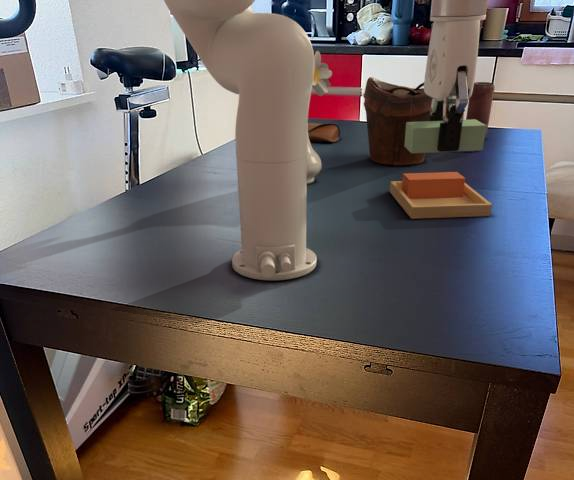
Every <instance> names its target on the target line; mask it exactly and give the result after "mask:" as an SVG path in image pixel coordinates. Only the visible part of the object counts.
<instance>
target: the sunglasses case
mask: <svg viewBox="0 0 574 480" xmlns="http://www.w3.org/2000/svg"><path fill="white" fill-rule="evenodd" d="M308 135H309V140H310V143H335V142H337V141H339V140H340V136H341V129H340V127H339V125H338V124H336V123H331V122H329V123H328V122H327V123H317V122H308Z"/></svg>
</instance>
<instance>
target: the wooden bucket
mask: <svg viewBox="0 0 574 480" xmlns="http://www.w3.org/2000/svg"><path fill="white" fill-rule="evenodd" d="M363 99H364V100H363V101H364V102H363V107H364V110H365V118H366V128H367V130H366V131H367V138H368V141H367V142H368V150H369V158H370V160H371V161H373V162H374V163H378V164H381V165H387V166H393V167H394V166H396V167H400V166H402V167H404V166H405V167H406V166H413V165H419V164H421V163H423V162H424V161H425V156H426V153H411V152H410V151H409V150H408V149H407V148H406V147H405V146H404V144H405V132H406V122H422V121H430V116H434V115H431V114H430V110H431V104H432V98H431V97H430V96H428V95H427V94H426V93H425V92H424V82H422V83H420V84H419V85H418V86H416V87H415V88H414V87H408V86H403V85H399V84H392V83H389V82H386V81H382V80H379V79H378V78H375V77H374V76H373V77H372V76H370V77H368V78H367V80H366V83H365V88H364V92H363Z"/></svg>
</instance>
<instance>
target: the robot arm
mask: <svg viewBox="0 0 574 480" xmlns="http://www.w3.org/2000/svg"><path fill="white" fill-rule="evenodd" d="M163 1H164V3H165V5H166V7H167V9H168V10H169V12H170V13H171V16H172V17H173V18H174V20H175V22H176V23H177V24H178V27H179V28H180V29H181V31H182V33H183V34H184V36H185V38H186V39H187V41H188V42H189V44H190V46H191V47H192V48H193V50H194V52H195V53H196V55H197V57H198V58H199V59H200V61H201V62H202V64H203V66H204V67H205V68H206V71H208V73H209V75H210V76H211V77H212V78H213V79H214V80H215V82H216V83H217V84H218V85H220V87H221V88H223V89H225V90H227V91H228V92H231V93H233V94H235V95H239V96H238V105H237V111H236V117H235V132H234V134H235V136H234V137H235V138H234V141H235V142H234V143H235V156H236V173H237V191H238V207H239V226H240V240H241V241H240V244H241V249H240V250H237V252H235V253H234V254H233V256H232V258H231V262H232V263H231V265H232V269H233V270H234V272H236V273H238V274H239V275H241V276H243V277H246V278H249V279H253V280H259V281H273V282H274V281H275V282H276V281H287V280H292V279H297V278H301V277H303V276H306V275H307V274H309V273H311V272H312V271H314V269H315V268H316V267H317V262H318V261H317V260H318V259H317V255H316V253H315V252H314V251H313V250H311V249H310V248H308V247H307V191H308V190H307V187H308V186H307V185H308V184H307V123H309V122H308V121H309V110H310V102H311V96H312V90H313V87H312V85H313V79H314V69H315V60H314V56H315V52H314V48H313V45H312V42H311V39H310V37H309V35H308V34H307V32H306V31H305V30H304V28H303V27H302V26H301V25H300V24H299V23H298V22H297V21H296V20H293V18H290V17H288V16H286V15H283V14H279V13H273V12H272V13H270V12H269V13H268V12H254V10H253V8H252V5H253V4H254V3H255V1H256V0H163ZM488 4H489V0H431V6H430V15H429V21H430V22H433V24H432V27H431V32H430V39H429V43H428V44H429V45H428V51H427V59H426V65H425V73H424V82H423V83H424V86H423V88H424V92H425V93H426V94H427V95H428V96H430V97H431V98H432V104H431V110H430V114H431V115H434V116H430V121H443V123H440V129H439V137H438V146H437V150H438V151H439V152H438V153H447V152H446V151H458V150H459V145H460V137H461V130H462V123H463V120H465V119H464V118H465V117H464V116H465V112H466V107H468V103H469V98H470V97H471V95H472V91H473V87H474V83H475V81H476V75H477V74H476V73H477V66H478V65H477V64H478V55H479V43H480V42H479V41H480V27H481V21H484V20H486V18H487V10H488ZM453 97H455V98H453ZM458 152H459V151H458Z"/></svg>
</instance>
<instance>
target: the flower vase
mask: <svg viewBox="0 0 574 480" xmlns="http://www.w3.org/2000/svg"><path fill="white" fill-rule="evenodd" d="M314 60H315V69H314V79H313V85H312V90H313V91H314V92H315V94H317V96H319V97H322V96H323V95H324V93H326V94H327V93H328V92H329V91H328V88H329V87H331V86H332V85H331V83H330V81H329V80H328V79H331V77H332V76H333V71H332V70H330V69H329V65H328V64H327V63H325V62H322V56H321V53H320V51H319V50H316V51H315V52H314ZM308 123H309V122H308ZM308 123H307V185H309V184H312V183H314V182H315V177H316V176H317V175H318V174H320V172H321V170H322V169H323V166H322V165H323V163H322V160H321V157H320V155H319V154H318V153H317V152H316V150H315V149H314V148H313V146H312V142H310V140H309V135H308Z"/></svg>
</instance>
